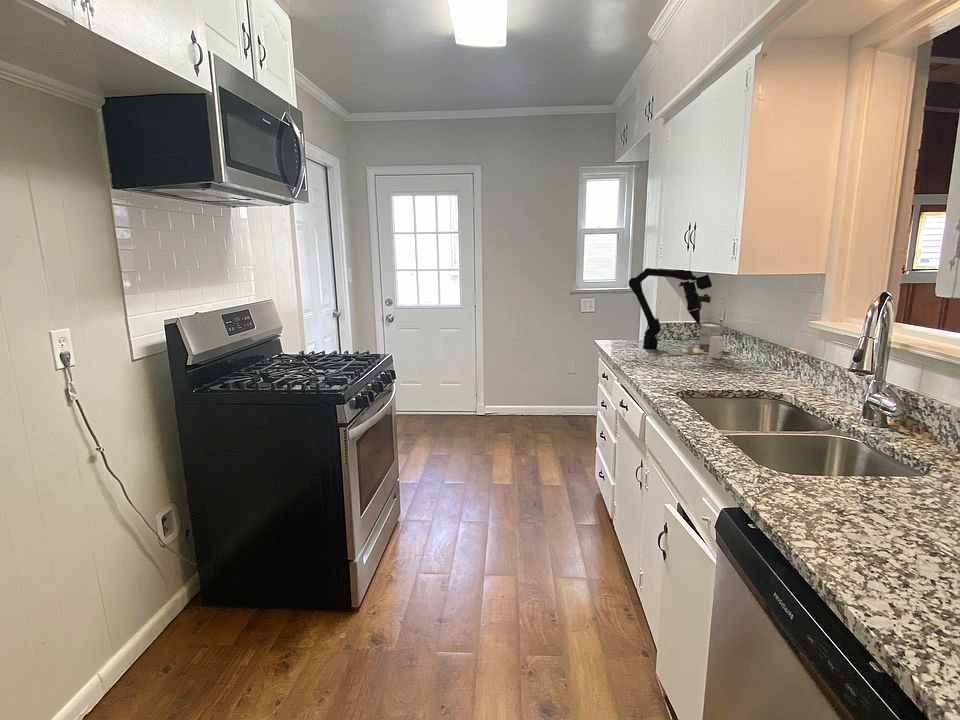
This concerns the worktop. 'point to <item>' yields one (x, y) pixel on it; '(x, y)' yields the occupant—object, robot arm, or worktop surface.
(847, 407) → the worktop surface
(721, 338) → the block
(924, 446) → the worktop surface
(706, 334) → the supplement box
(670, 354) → the phone
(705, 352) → the dock station
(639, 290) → the robot arm
